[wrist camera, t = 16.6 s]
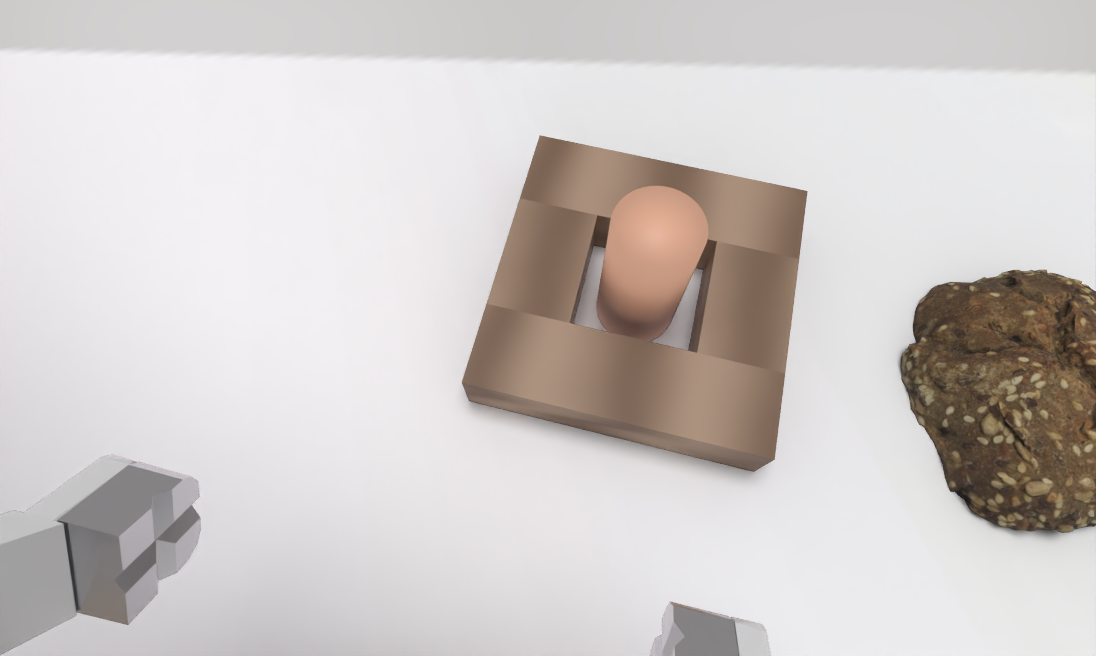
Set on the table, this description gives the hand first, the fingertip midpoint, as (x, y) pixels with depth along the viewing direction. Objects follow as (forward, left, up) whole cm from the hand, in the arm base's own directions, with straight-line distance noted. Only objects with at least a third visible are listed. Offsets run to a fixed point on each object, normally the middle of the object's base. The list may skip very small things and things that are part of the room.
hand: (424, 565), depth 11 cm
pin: (+3, +15, -19) cm, 25 cm away
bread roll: (+23, +15, -20) cm, 34 cm away
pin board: (+3, +15, -19) cm, 25 cm away
